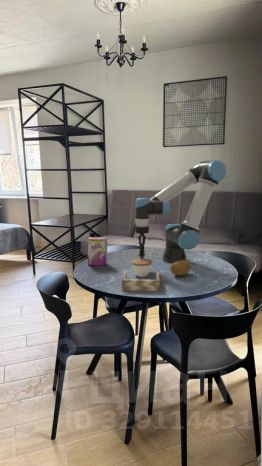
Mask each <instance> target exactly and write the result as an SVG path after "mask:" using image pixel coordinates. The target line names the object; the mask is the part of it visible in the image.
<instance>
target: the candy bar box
mask: <svg viewBox="0 0 262 466" xmlns="http://www.w3.org/2000/svg"><path fill="white" fill-rule="evenodd" d="M87 264H88V265H87V266H98V265H99V267H100V266H101V267H103V266H105V267H106V266H107V265H108V238H107V237H94V236H93V237H90V236H89V237H88V238H87Z"/></svg>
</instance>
